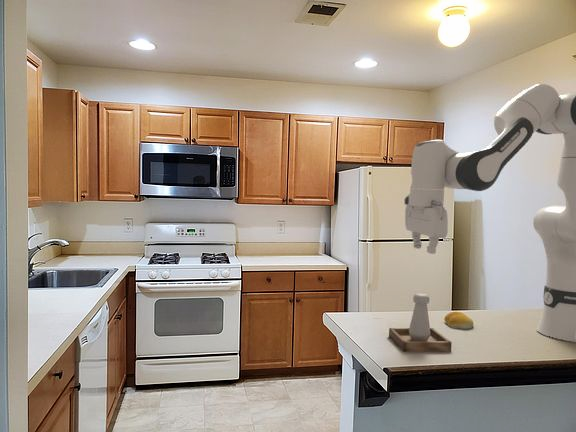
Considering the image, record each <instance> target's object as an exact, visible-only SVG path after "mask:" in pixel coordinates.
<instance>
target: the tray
mask: <svg viewBox="0 0 576 432" xmlns="http://www.w3.org/2000/svg"><path fill="white" fill-rule="evenodd" d="M430 333H431V334H430V337H429V339H428V341H412V340H411V337H410V334H409V327H389V330H388V338H390V339H391V340H392V341H393V342H394V343H395V344H396V345H397V346H398V347H399V348H400V350H402V351H403V352H452V343H453V342H452V341H451V340H449V339H448V338H447V337H446V336H444V335H443V334H442V333H440V332H439V331H437V330H436V329H435V328H433V327H430Z"/></svg>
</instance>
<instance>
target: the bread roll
mask: <svg viewBox="0 0 576 432" xmlns="http://www.w3.org/2000/svg"><path fill="white" fill-rule="evenodd" d="M443 319H444V322H445V324H446V325H448V327H449V328H453V329H460V330H470V329H472V328H473V327H474V321H473V318H471V317H469V316H467V315H466V314H465V313H463V312H460V311H451V312H449V313H447V314H446V315H445V316H444V318H443Z"/></svg>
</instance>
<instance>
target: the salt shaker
mask: <svg viewBox="0 0 576 432" xmlns="http://www.w3.org/2000/svg"><path fill="white" fill-rule="evenodd" d="M412 298H413V299H412V300H413V303H415V304H414V307H413V311H412V316H411V320H410V323H409V327H408V328H409V334H410V337H411V340H412V341H428V339H429V337H430V334H431V333H430V328H431V326H430V320H429V319H430V318H429V311H428V304H429V303H430V296H429V295H428V294H427V293H421V292H417V293H415V294H413V297H412Z"/></svg>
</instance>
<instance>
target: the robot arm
mask: <svg viewBox="0 0 576 432" xmlns="http://www.w3.org/2000/svg"><path fill="white" fill-rule="evenodd" d="M493 127H494V130H495V132H496V133H497V135H498V136H497V137H496V138H495V139H494V140H493V141H492V142H491V143H490V144H489V145H488V146H487V147H485V148H484V149H481V150H477V151H473V152H472V151H471V152H461V153H460V152H458V151H456V150H454V149H452V148H451V147H450V146H449V145H447V143H445V141H444V140H443V139H434V140H427V141H420V142H419V143H416V145H415V146H414V148H413V152H412V157H411V167H410V168H411V169H410V174H411V179H412V180H411V185H410V187H409V194H408V195H406V196H405V197H404V200H403V201H404V203H403V204H404V206H405V211H404V212H405V215H404V216H405V217H404V219H405V220H404V221H405V222H404V224H405V228H406V230H407V231H410V232H411V236H412V241H413V246H412V247H413V248H414V249H422V241H421V236H422V235H423V236H426V237H428V241H429V242H428V245H427V247H426V249H427V250H426V252H427V253H428V254H429V255H430V254H431V255H434V254H436V251H437V246H438V244H439V241H440V239H446V238H447V236H448V232H449V229H448V226H449V225H448V211H447V210H446V208H445V206H444V204H445V203H444V202H445V201H444V198H445V188H448V189H454V190H455V189H456V190H468V191H474V192H482V191H486V190H488V189H489V188H491V187H493V186H494V184H495V183H496V182H497V180H498V178H499V177H500V174H501V173H502V170H503V169H504V168H505V166H506V165H507V164H508V163H509V162H510V161H511V160H512V159H513V157H515V156H516V155H517V153H519V152H520V150H521V149H522V148H524V146H525V145H526V144H527V143H528V142H529V141H530V140H531V138H532V136H533V134H534V133H535V132H536V133H538V134H540V135H553V134H555V135H556V134H558V135H559V134H560V135H561V134H562V136H563V139H564V144H563V147H562V150H561V157H560V162H559V169H558V174H557V180H556V182H557V186H558V187H559V189H560V190H562V192H563V196H564V197H565V205H561V204H560V205H557V204H556V205H549V206H544V207H542V208H540V209H539V210H538V211H537V212H536V213H535V214H534V218H533V223H532V224H533V228H534V230H535V232H536V233H537V234H538V236H540V239H541V241H542V243H543V247H544V252H545V256H546V279H545V280H546V282H545V285H544V289H543V296H542V297H543V308H542V311H541V316H540V320H539V322H538V325H537V327H536V332H538V333H539V334H542V335H544V336H547V337H549V336H550V338H552V337H553V339H556V338H557V339H556V340H561V339H562V340H561V341H567V342H572V343H576V92H570V93H565V94H561V95H559V93H558V91H557V90H556V89H555V88H554V87H553V86H551V85H550V84H546V83H539V84H538V83H537V84H534V85H533V86H531V87H529V88H527V89H525V90H523V91H522V92H520V93H519V94H517V95H516V96H514V97H513V98H512V99H511V100H510V101H508V102H507V103H506V104H505V105H504V106H502V107H501V108H500V110H499V111H498V112H497V113H496V115H495V116H494V119H493Z"/></svg>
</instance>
